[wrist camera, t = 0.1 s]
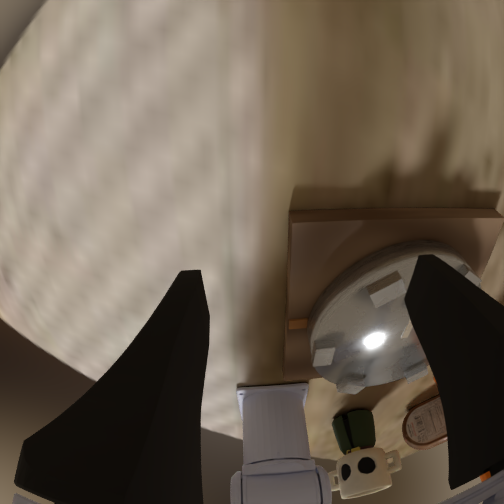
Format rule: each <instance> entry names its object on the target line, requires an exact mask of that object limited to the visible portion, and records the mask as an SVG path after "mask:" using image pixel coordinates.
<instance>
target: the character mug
mask: <svg viewBox="0 0 504 504" xmlns="http://www.w3.org/2000/svg"><path fill="white" fill-rule="evenodd" d="M347 415H348V418H347V419H342V416H339V417H338V418H336V419H335V420H334V421H333V422H332V426H333V430H334V433H335V436H336V439H337V442H338V445H339V448H340V450H341V451H342V453H343V454H344V455H345V456H343V457H342V458H340V459H339V460H338V462H337V466H336V468H337V470H334V471H331V472H329V473H328V476H329V479H330V484H331V491H336V490H340V493H341V497H342V499H348V498H354V497H359V496H363V495H368V494H371V493H375V492H378V491H381V490H383V489H386V488H388V487H390V486H391V485H392V481H391V476H390V474H391V473H394V472H396V471H399V470H400V469H401V468H402V464H401V460H400V456H399V452H398V451H397V450H393V451H390V452H388V453H385V452H384V450H383V449H382V448H375V447H374V445H375V442H376V439H375V426H374V419H373V414H372V412H370V411H368V410H357V411H353V412H349V413H347ZM373 447H374V448H373ZM391 457H393V461H394V466H392V467H390V468H389V467H388V463H387V459H389V458H391ZM334 476H338V481H339V484H335V481H334Z"/></svg>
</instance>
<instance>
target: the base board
mask: <svg viewBox="0 0 504 504" xmlns="http://www.w3.org/2000/svg"><path fill="white" fill-rule="evenodd" d="M503 221H504V217H503V216H502V215H501V214H500V213H499V212H497V211H496V210H495V209H478V208H368V209H329V210H301V211H289V229H288V264H287V291H286V314H285V334H284V352H283V378H284V381H294V380H304V379H313V378H322V376H321V375H320V374H319V373H318V372H317V371H316V369H315V367H313V366H312V361H311V356H312V355H311V350H310V345H309V340H308V335H307V325H308V321H309V316H310V314H311V312H312V309H313V307H314V305H315V304H316V302H317V300H318V298H319V297H320V296H321V295H322V293H323V292H324V291H325V289H326V288H327V287H328V286H329V285H330V284H331V283H332V282H333V281H334V280H335V279H336V278H337V277H338V276H339V275H340V274H342V273H343V272H344V271H345V270H347V269H348V268H349V267H351V266H352V265H354V264H355V263H356V262H358V261H360V260H361V259H363V258H365V257H366V256H368V255H370V254H372V253H374V252H376V251H379V250H381V249H383V248H386V247H389V246H392V245H394V244H398V243H402V242H406V241H414V240H433V241H439V242H442V243H445V244H447V245H449V246H451V247H452V248H454V249H455V250H456V251H457V252H458V253H459V254H460V255H461V256H462V257H463V258H464V260H465V261H466V262H467V263H468V265H469V266H470V267H471V269H472V270H473V271H474V272H475V273H477V275H478V276H479V277H480V279H481V276H482V274H483V272H484V270H485V267H486V265H487V263H488V260H489V258H490V256H491V253H492V251H493V248H494V246H495V243H496V241H497V238H498V235H499V233H500V230H501V227H502V224H503Z"/></svg>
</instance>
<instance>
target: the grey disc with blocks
mask: <svg viewBox="0 0 504 504" xmlns="http://www.w3.org/2000/svg"><path fill="white" fill-rule="evenodd" d="M427 254H433V255H435V256H437V257H438V258H440V259H441V260H443V261H444V262H446V263H447V264H449V265H450V266H451V267H453V268H454V269H455V270H457V271H458V272H459V273H461V274H462V275H463V276H465V277H466V278H467V279H469V280H470V281H471V282H472V283H474V284H475V285H476V286H478V287H479V288H480V289H481V285H480V282H481V281H482V280H481V279H480V277H479V276H478V275H477V273H475V272H474V271H473V270H472V269H471V267H470V266H469V265H468V263H467V262H466V261H465V260H464V258H463V257H462V256H461V255H460V254H459V253H458V252H457V251H456V250H455V249H454V248H452V247H451V246H449V245H447V244H445V243H442V242H439V241H433V240H414V241H406V242H402V243H398V244H394V245H392V246H389V247H386V248H383V249H381V250H379V251H376V252H374V253H372V254H370V255H368V256H366V257H365V258H363V259H361V260H360V261H358V262H356V263H355V264H354V265H352V266H351V267H349V268H348V269H347V270H345V271H344V272H343V273H342V274H340V275H339V276H338V277H337V278H336V279H335V280H334V281H333V282H332V283H331V284H330V285H329V286H328V287H327V288H326V289H325V291H324V292H323V293H322V295H321V296H320V297H319V298H318V300H317V302H316V304H315V305H314V307H313V309H312V312H311V314H310V316H309V321H308V325H307V335H308V340H309V345H310V350H311V355H312V356H311V361H312V366H313V367H315V369H316V371H317V372H318V373H319V374H320V375H321V376H322V377H323V378H324V379H326V380H328V381H330V382H332V383H335V384H336V387H337V391H338V392H340V393H348V394H357V393H358V392H360V391H361V390H362V389H364V388H365V387H367V386H375V385H381V384H385V383H389V382H392V381H396V380H399V379H401V378H404V377H406V380H407V382H408V384H409V383H411V382H413V381H415V380H417V379H419V378H421V377H423V376H425V375H427V374H428V371H427V367H426V366H428V365H429V362H428V360H427V358H426V355H425V353H424V351H423V349H422V346H421V344H420V342H419V339H418V337H417V335H416V333H415V330H414V328H413V326H412V323H411V320H410V317H409V314H408V311H407V308H406V304H405V301H404V298H405V295H406V292H407V289H408V286H409V283H410V281H411V278H412V275H413V272H414V268H415V265H416V262H417V259H418V256H419V255H427Z"/></svg>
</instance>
